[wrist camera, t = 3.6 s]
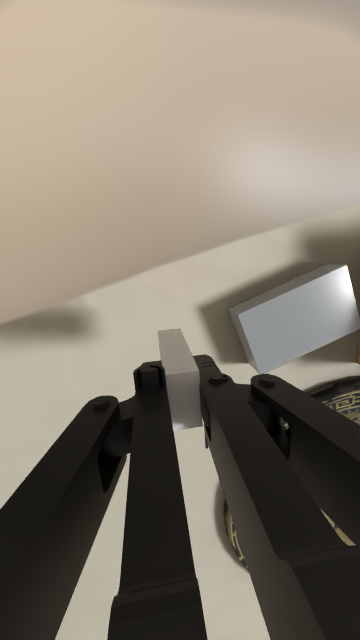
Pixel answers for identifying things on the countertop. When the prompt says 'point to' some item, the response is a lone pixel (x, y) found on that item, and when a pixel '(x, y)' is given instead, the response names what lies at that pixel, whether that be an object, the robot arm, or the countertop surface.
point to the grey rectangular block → (296, 317)
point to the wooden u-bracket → (359, 359)
